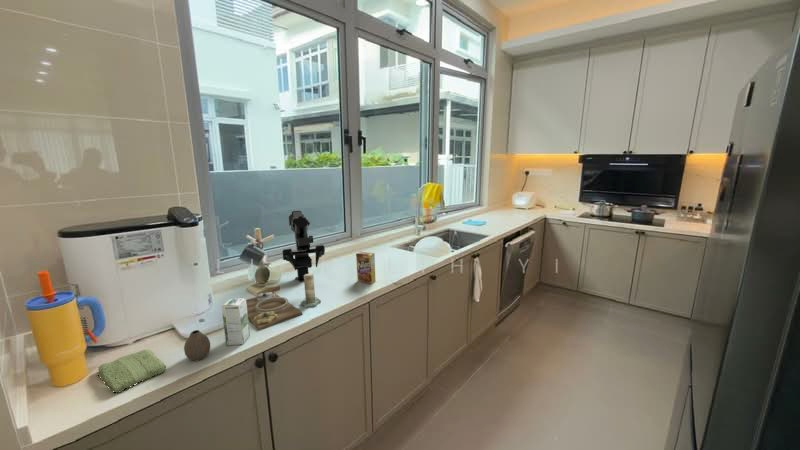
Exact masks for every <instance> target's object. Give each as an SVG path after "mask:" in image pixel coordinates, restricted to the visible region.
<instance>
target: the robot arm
mask: <svg viewBox="0 0 800 450" xmlns="http://www.w3.org/2000/svg"><path fill="white" fill-rule="evenodd" d="M310 223H311V222H310V221H309V220H308V219H307V217H306V216H305V215H304V214H303V213H302V210H292V211H291V213H290V215H288V225H289V226H290V230H291V231H292V232H294V239H295V248H296V250H293V251H292V248H284V249H283V250H282V260H283V261H286V262H289V264H291V266H292V268H293V269H294V271H296V272H297V276H296V277H294V278H295V280H297V281H300V282H304V275H305V274H310V273H309V268H310V269H312V266H313V265H312V264H313V260H312V258H311V256H310V255H309V254H315V268H318V266H319V260H320V258H322V256H324V255H325V251H326V248H325V247H326V246H325V245H324V244H319V245H315V248H311V244H314V236H313V235H309V234H308V231H309V229H308V227H309V226H310Z"/></svg>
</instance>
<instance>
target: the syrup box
mask: <svg viewBox="0 0 800 450" xmlns="http://www.w3.org/2000/svg"><path fill="white" fill-rule="evenodd" d="M246 300H247V298H241V297H240V298H239V297H238V298H236V297H235V298H231V299H230V298H229V299H228V300H227V301H226V302H225V303H224V304H222V306H221V312H222V321H223V330H224V337H225V338H224V339H225V345H226V346H239V345H240V344H241V345H244V344H245V343H246V341H247V340H248V339H249V337H250V326H249V325H250V324H249V320H248V313H247V304H246Z"/></svg>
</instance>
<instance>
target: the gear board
mask: <svg viewBox="0 0 800 450" xmlns="http://www.w3.org/2000/svg"><path fill="white" fill-rule="evenodd" d="M246 304H247V313H248V322H250V323H251V324H252V325H253V326H254V327H255V328H256V329H257V330H258V331H261V330H264V329H266V328H269V327H271V326H275V325H277V324H280V323H282V322H285V321H288V320H291V319H294V318H297V317H300V316H302V315H303V312H302V310H300V309H298V308H297V307H295V306H294V305H293V304H292V303H290V302H289V299H287V297H283V296H279V295H278V294H277V293H275V292H274V291H270V292H261V293H259V294H257V295H255V296H254V297H252V298H248V299H247V298H246Z"/></svg>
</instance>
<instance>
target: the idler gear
mask: <svg viewBox="0 0 800 450" xmlns="http://www.w3.org/2000/svg"><path fill="white" fill-rule="evenodd" d="M303 282H304V284H303V285H304V293H305V297H304V299H303V300H302V301H300V306H303V308H311V307H312V308H313V307H318V305H319V304H321V303H322V299H321V298H318V297H317V296H316V292H315V291H316V290H315V279H314V273H309V274H305V275H304V281H303Z"/></svg>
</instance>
